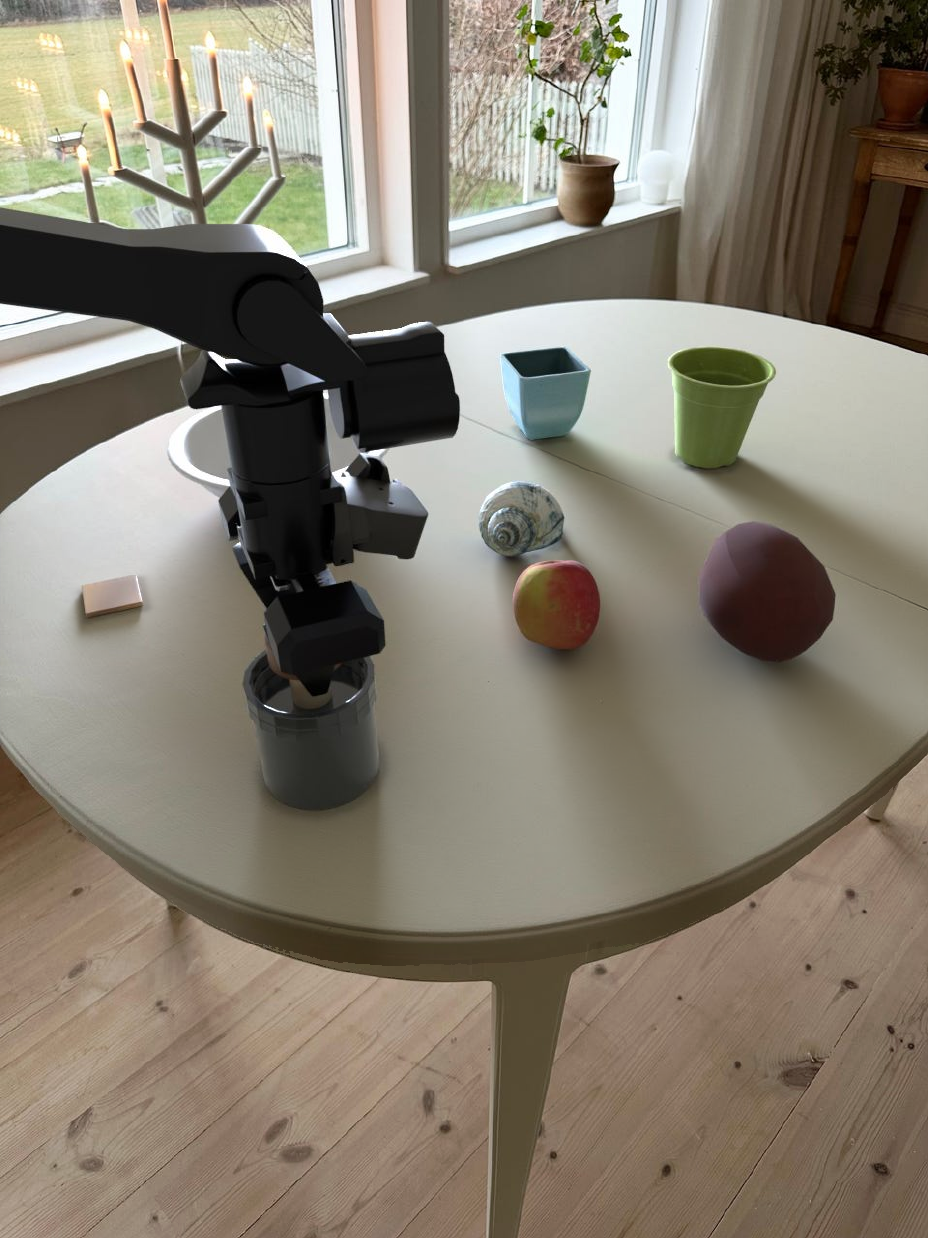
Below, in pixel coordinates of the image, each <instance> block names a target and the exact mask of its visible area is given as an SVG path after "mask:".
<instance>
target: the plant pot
mask: <svg viewBox="0 0 928 1238" xmlns="http://www.w3.org/2000/svg"><path fill="white" fill-rule="evenodd" d="M667 367H668V369H669V370H670V371H671V383H672V388H673V400H674V401H673V408H674V414H673V415H674V454H675V455H676V457H678V458H680V459H681V460H682V461H683V462H684V463H685V464H688V465H689V466H693V467H697V468H703V469H717V468H719V467H722V466H727V467H728V466H731V465H732V464H733V463H735V462H736V460H737V458H738V455H739V452H740V449H741V447H742V445H743V442H744V440H745V437H746V434H747V432H748V429H749V427H750V424H751V422H752V420H753V417H754V415H755V412H756V409H757V407H758V404H759V402H760V400H761V399H762V398H763V396H764V393H765V391H766V389H767V386H768V384H769V383H771V381H773V380H774V379H775V377H776V375H777V370H776V367H775V366H774V364H773V363H772V362H771V361H769V360H768V359H766V358H764V357H763V356H761V355H759V354H755V353H753V352H749V351H746V350H742V349H737V348H731V347H726V346H695V347H689V348H685V349H681V350H678V351H676V352H674V353H672V354H671V356H670V357H668V359H667Z"/></svg>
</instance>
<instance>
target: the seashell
mask: <svg viewBox="0 0 928 1238" xmlns="http://www.w3.org/2000/svg"><path fill="white" fill-rule="evenodd" d="M564 523H565V515H564V513H563V510H562V507H561V505H560V503H559V501H558V500H557V499H556V497H555V496H554V495H553V493H552V492H551V491H549V490H548V489H547V488H545V487H543V486H542V485H539V484H537V483H535V482H530V481H524V480H523V481H522V480H520V481H511V482H508V483H505V484H503V485H500V486H499V487H497V488H496V489H494V490H493V491H492V492H491V493H489V494H488V495H487V496H486V497H485V500H484V501H483V504H482V505H481V507H480V510H479V513H478V527H479V528H478V529H479V532H480V535H481V538H482V540H483V542H484V544H485V545H486V546H487V547H488V548H489V549H490V550H491V551H493V552H495V553H496V554H498V555H500V556H503V557H519V556H520V555H524V554H526V553H530V552H533V551H537V550H542V549H546V548H548V547H551V546H553V545H555V544H557V543H558V542H560V541H561V540H562V539H563V533H564V525H565V524H564Z"/></svg>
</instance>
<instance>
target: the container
mask: <svg viewBox="0 0 928 1238" xmlns="http://www.w3.org/2000/svg"><path fill="white" fill-rule="evenodd" d="M331 688H332V697H331V699H330V701H329V702H328V703H327V704H326V705H324V706H322V707H320V708H316V709H303V708H300V707H298V706H296V705H295V704H294V702H293V700H292V695H291V688H290V682H289V679H286V678H283V677H281V676H279V675H277V674H276V673H275V672H274V671H273V670H272V669H271V668H270V666H269V663H268V658H267V652H266V648H265V649H264V650H262V651H261V652H259V654H257V655H256V656H255V657H254V658H252V660H251V661H250V663H249V664H248V666H247V667H246V669H245V670H244V674H243V679H242V690H243V695H244V701H245V706H246V709H247V712H248V716H249V718H250V719H251V721H252V724H253V730H254V735H255V739H256V740H255V741H256V745H257V750H258V755H259V761H260V766H261V771H262V777H263V781H264V784H265V786H266V788H267V790H268V791H269V792H270V794H271V795H272V796H273V797H274V798H275V799H277V801H279V802H281V803H283V804H284V805H287V806H290V807H293V808H296V809H302V810H308V811H309V810H310V811H318V810H329V809H332V808H333V809H334V808H336V807H339V806H343V805H345V804H348V803H351V802H352V801H353V800H355V799H357V798H358V797H360V796H361V795H362V794H364V793H365V792H366V791H367V790H368V789H369V788H370V787H371V785H373V782H374V781H375V779H376V777H377V774H378V772H379V769H380V768H379V767H380V755H379V742H378V730H377V719H376V706H375V705H376V704H375V702H376V700H377V677H376V665H375V663H374V661H373V659H372V656H368V657H364V658H360V659H356V660H352V661H349V662H345V663H341V665H340V666H339V667H338V668H337V669H336V670H335V671H334V672H333V676H332V679H331Z"/></svg>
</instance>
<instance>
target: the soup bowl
mask: <svg viewBox="0 0 928 1238" xmlns="http://www.w3.org/2000/svg"><path fill="white" fill-rule="evenodd" d="M323 394H324V404H325V414H326V425H327V435H328V445H329V455H330V466H331V472H332V473H333V475H334V476H336V477H341V475H342V472H343V471H345V470H346V469H347V468H348V467H349V465H350V464H351V463H352V462H353V461H354V460H355V459H356V457H357V456H358V455H359V454H360V453H361V452H360V451H359V450H358V449H357V447H356V445H355V442H354V440H353V438H352V436H351V437H349V438H343V439H341V438H340V437H339V436H338V434H337V432H336V430H335V427H334V424H333V420H332V416H331V412H330V406H329V399H328V393H327V394H326V393H323ZM166 450H167V451H166V453H167V458H168V461H169V462H170V464H171V466H172V467H173V469H175V471H176V472H177V473H178V474H180V475H181V476H183V477H184V478H186V479H188V480H189V481H192V482H194V483H197V484H199V485H200V486H201V487H203V488H204V489H205V490H206V491H208V492H209V493H211V494H212V495H214V496H215V497H217V498H219V499H220V497H221V496H222V495H223V494H224V492H225V491H226V490H227V489H228V487H229V486H230V483H229V478H228V472H227V468H231V462H230V456H229V450H228V444H227V438H226V432H225V426H224V420H223V414H222V408H221V406H217V407H210V408H207V409H206V410H203V411H201V412H199V413H197V414H196V415H194V416H192V417H190V418H189V419H187V420H186V421H185V422H183V423H182V424H181V425H180V426H179V427H177V428H176V430H175V431H174V432H173V433H172V435H171V436H170V438H169V440H168V442H167V448H166ZM389 451H390V448H388V449H382V450H376V451H370V452H364V454H370V455H376V456H379V457H380V458H381V459H382V460H383V458H384V457H385V456H386V455H387V453H388V452H389Z"/></svg>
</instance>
